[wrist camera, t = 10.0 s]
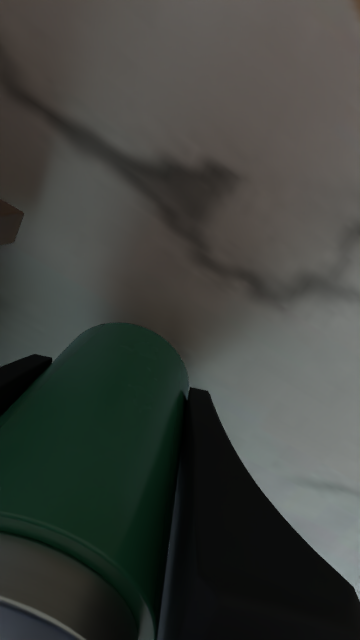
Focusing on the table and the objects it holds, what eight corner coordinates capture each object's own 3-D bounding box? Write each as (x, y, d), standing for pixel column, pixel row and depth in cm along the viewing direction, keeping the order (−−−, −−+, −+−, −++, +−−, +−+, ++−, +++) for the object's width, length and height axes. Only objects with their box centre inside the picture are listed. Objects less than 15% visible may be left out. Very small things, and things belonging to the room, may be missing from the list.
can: (69, 306, 11) (-217, 529, 4) (204, 342, 11) (186, 636, 4) (56, 415, 13) (-156, 714, 5) (172, 446, 13) (116, 786, 5)
